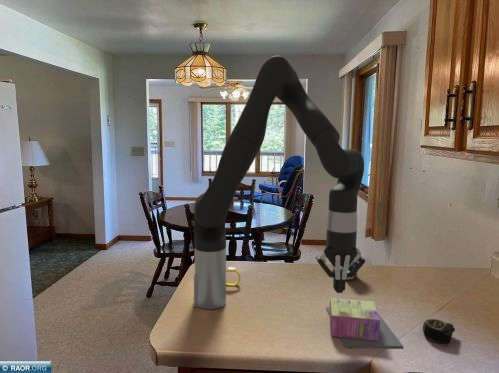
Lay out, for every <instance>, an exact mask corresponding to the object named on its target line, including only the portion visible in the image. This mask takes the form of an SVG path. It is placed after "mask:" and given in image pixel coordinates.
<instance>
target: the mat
mask: <svg viewBox="0 0 499 373" xmlns="http://www.w3.org/2000/svg"><path fill="white" fill-rule="evenodd" d="M325 309H326V311H327V314H328V315H329V312H330V306H328V307H325ZM378 316H379V318H380V336H379V341H375V340H366V339H357V338H347V337H339V338H340V340H341V341H342V343H343V346H344V347H345V349H347V348H348V349H352V348H353V349H365V348H369V349H370V348H371V349H372V348H373V349H375V348H379V349H380V348H381V349H382V348H390V349H391V348H404V345H403V344H402V342H401V341H400V339H398V338H397V336H396V335H395V334H394V332H393V331H392V330H391V328H390V327H389V325H388V324H387V323H386V322H385V321H384V319H383V318H382V316H381V315H380V314H379V313H378Z"/></svg>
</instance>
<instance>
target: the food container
mask: <svg viewBox="0 0 499 373" xmlns="http://www.w3.org/2000/svg"><path fill="white" fill-rule="evenodd" d="M356 250H357V252H358V255H359V256H362V252H361V250H360V249H359V248H358V247H356ZM353 262H354V260H353V261H352V262H351V264H350V265H349V267H350V266H351V265H352V264H353ZM349 267H348V268H349ZM358 271H359V270H358ZM358 271H357V272H356V274H355V275H354V276H353V277H348V278H346V282H353V281H356V280H357V277H358V273H359V272H358Z"/></svg>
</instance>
